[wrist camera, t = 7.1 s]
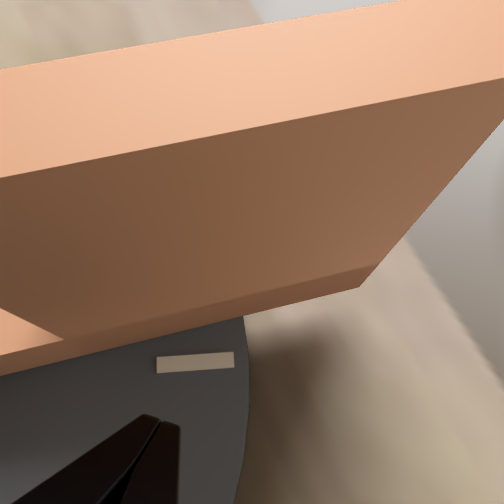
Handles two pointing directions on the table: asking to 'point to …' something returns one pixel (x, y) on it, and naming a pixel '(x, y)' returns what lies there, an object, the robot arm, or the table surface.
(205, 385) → the dial plate
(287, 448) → the table surface
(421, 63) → the capstan
